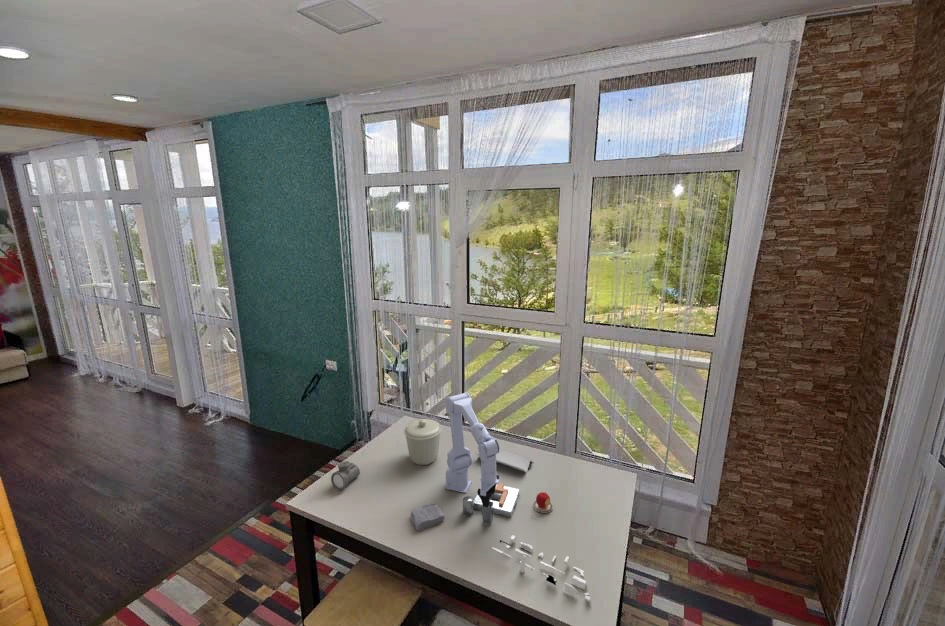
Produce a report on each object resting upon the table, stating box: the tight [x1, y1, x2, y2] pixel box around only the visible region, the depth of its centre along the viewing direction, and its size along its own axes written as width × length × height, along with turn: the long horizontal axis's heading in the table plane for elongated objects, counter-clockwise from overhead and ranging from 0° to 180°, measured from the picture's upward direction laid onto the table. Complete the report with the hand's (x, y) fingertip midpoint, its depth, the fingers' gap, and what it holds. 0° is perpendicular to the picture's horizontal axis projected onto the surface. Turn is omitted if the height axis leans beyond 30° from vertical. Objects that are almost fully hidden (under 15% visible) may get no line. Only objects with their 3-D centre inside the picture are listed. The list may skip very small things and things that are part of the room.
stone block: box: [410, 502, 445, 531], centre depth 162 cm, size 12×5×10 cm
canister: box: [403, 418, 442, 466], centre depth 198 cm, size 18×18×21 cm
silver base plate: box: [474, 484, 520, 518], centre depth 171 cm, size 16×14×2 cm
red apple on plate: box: [532, 491, 554, 514], centre depth 167 cm, size 8×8×6 cm
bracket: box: [495, 482, 508, 506], centre depth 171 cm, size 8×12×1 cm, turn 161°
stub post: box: [462, 495, 475, 517], centre depth 164 cm, size 4×4×6 cm
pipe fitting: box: [330, 460, 361, 491], centre depth 183 cm, size 12×8×10 cm
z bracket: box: [475, 448, 534, 473], centre depth 197 cm, size 12×25×6 cm
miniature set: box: [491, 533, 591, 603], centre depth 140 cm, size 6×35×12 cm
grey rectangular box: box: [482, 501, 494, 526], centre depth 159 cm, size 3×3×8 cm
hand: (488, 499), depth 158 cm, fingers open, 7 cm apart
